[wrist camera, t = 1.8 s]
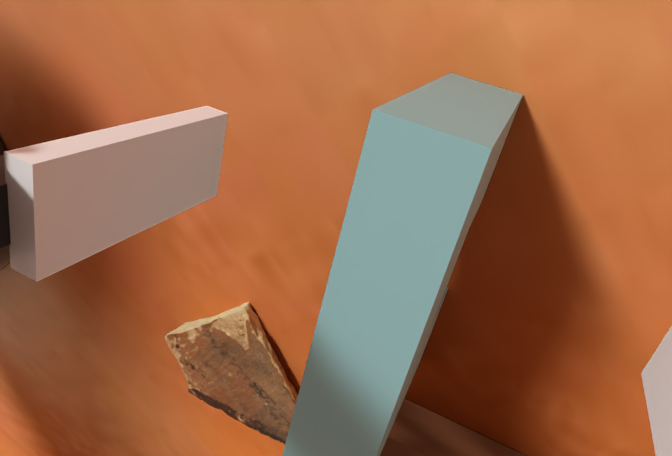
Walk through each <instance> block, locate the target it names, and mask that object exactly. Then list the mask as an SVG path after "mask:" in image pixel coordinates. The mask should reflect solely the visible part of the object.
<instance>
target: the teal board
mask: <svg viewBox="0 0 672 456" xmlns="http://www.w3.org/2000/svg"><path fill="white" fill-rule="evenodd" d="M522 97H523V94H520V93H516V92H513V91H510V90H506V89H503V88H499V87H496V86H493V85H489V84H486V83H483V82H479V81H476V80H473V79H469V78H466V77H463V76H459V75H456V74H452V73H449V74H447V75H445V76H443V77H441V78H439V79H437V80H434V81H432V82H430V83H428V84H426V85H424V86H422V87H419V88H417V89H415V90H413V91H411V92H409V93H407V94H404V95H402V96H400V97H398V98H396V99H394V100H392V101H389V102H387V103H385V104H383V105H381V106H379V107H377V108H375V109H373V110H372V114H371V118H370V122H369V125H368V129H367V133H366V137H365V141H364V145H363V148H362V152H361V156H360V160H359V164H358V168H357V171H356V175H355V179H354V183H353V187H352V191H351V194H350V198H349V202H348V206H347V210H346V214H345V217H344V221H343V225H342V229H341V233H340V237H339V240H338V244H337V248H336V252H335V256H334V260H333V263H332V267H331V271H330V275H329V279H328V282H327V286H326V290H325V294H324V298H323V302H322V305H321V309H320V313H319V317H318V321H317V325H316V328H315V332H314V336H313V340H312V344H311V348H310V351H309V355H308V359H307V363H306V367H305V371H304V374H303V378H302V382H301V386H300V390H299V394H298V397H297V401H296V405H295V409H294V413H293V417H292V420H291V424H290V428H289V432H288V436H287V440H286V443H285V447H284V451H283V455H282V456H380V454H381V452H382V449H383V447H384V445H385V442H386V440H387V438H388V435H389V433H390V431H391V428H392V426H393V424H394V421H395V419H396V417H397V414H398V412H399V410H400V407H401V405H402V403H403V400H404V398H405V396H406V393H407V391H408V389H409V386H410V384H411V382H412V379H413V377H414V375H415V372H416V370H417V368H418V365H419V363H420V361H421V358H422V355H423V353H424V350H425V348H426V345H427V342H428V340H429V337H430V335H431V332H432V329H433V327H434V324H435V322H436V319H437V317H438V314H439V311H440V309H441V306H442V304H443V301H444V298H445V296H446V293H447V291H448V288H447V285H448V282H449V280H450V277H451V275H452V272H453V269H454V267H455V264H456V262H457V259H458V256H459V254H460V251H461V249H462V246H463V243H464V241H465V238H466V236H467V233H468V230H469V228H470V226H471V224H472V222H473V220H474V217H475V215H476V213H477V211H478V209H479V207H480V205H481V202H482V200H483V197H484V195H485V192H486V190H487V187H488V185H489V182H490V179H491V177H492V174H493V172H494V169H495V166H496V164H497V161H498V159H499V156H500V153H501V151H502V148H503V146H504V143H505V141H506V138H507V135H508V133H509V130H510V128H511V125H512V122H513V120H514V117H515V115H516V112H517V109H518V107H519V104H520V102H521V99H522Z"/></svg>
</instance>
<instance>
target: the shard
mask: <svg viewBox="0 0 672 456" xmlns="http://www.w3.org/2000/svg"><path fill="white" fill-rule="evenodd" d="M165 340H166V342H167V344H168V346H169V348H170V350H171V351H172V353H173V354H174V356H175V358H176V360H177V361H178V363H179V364H180V367H181V369H182V371H183V374H184V376H185V378H186V380H187V383H188V384H189V393H191V394H193V395H195V396H196V397H197V398H199V399H200V400H203V401H204V402H206V403H207V404H209V405H210V406H212V407H214V408H217V409H221V410H223V411H224V412H225V413H226V414H227V415H229V416H230V417H232V418H234V419H235V420H238V421H240V422H242V423H243V424H245V425H246V426H248V427H250V428H252V429H254V430H256V431H258V432H260V433H261V434H264V435H266V436H268V437H270V438H272V439H274V440H276V441H278V442H281V443H283V444H285V443H286V440H287V436H288V432H289V428H290V424H291V420H292V417H293V413H294V409H295V405H296V401H297V397H298V393H297V392H296V390H295V387H294V386H293V385H292V383H291V382H290V381H289V380H288V378H287V376H286V374H285V371H284V369H283V368H282V365H281V363H280V362H279V360H278V357H277V355H276V354H275V352H274V350H273V349H272V347H271V344H270V342H269V341H268V339H267V336H266V334H265V332H264V330H263V328H262V325H261V323H260V321H259V318H258V316H257V315H256V314H255V313H254V312H253V310H252V308H251V305H250V302H246V303H244V304H242V305H240V306H238V307H235V308H232V309H230V310H228V311H225V312H223V313H220V314H219V315H216V316H213V317H209V318H203V319H198V320H196V321H193V322H186V323H185V324H183V325H181V326H179V327H178V328H177V329H175V330H173V331H171V332H169V333H168V334H167V335H166V336H165Z"/></svg>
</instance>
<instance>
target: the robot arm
mask: <svg viewBox="0 0 672 456" xmlns="http://www.w3.org/2000/svg"><path fill="white" fill-rule="evenodd" d="M227 118H228V113H226V112H223V111H220V110H218V109H215V108H212V107H209V106H203V107H199V108H194V109H190V110H185V111H181V112H177V113H172V114H168V115H163V116H159V117H154V118H150V119H146V120H141V121H137V122H132V123H128V124H124V125H119V126H115V127H110V128H106V129H101V130H97V131H93V132H88V133H84V134H79V135H75V136H71V137H66V138H62V139H57V140H53V141H48V142H44V143H40V144H35V145H31V146H26V147H22V148H17V149H13V150H9V151H5V149H4V146H3V145H2V143H1V141H0V270H1V269H3V268H4V267H5V266H6V265H7V264H8V263H9V262H10V264H11V269H13V270H15V271H16V272H18V273H20V274H22V275H24V276H26V277H28V278H30V279H32V280H33V281H35V282H38V281H40V280H42V279H44V278H46V277H48V276H50V275H52V274H54V273H57V272H59V271H61V270H63V269H65V268H67V267H69V266H71V265H73V264H75V263H77V262H79V261H82V260H84V259H86V258H88V257H90V256H92V255H94V254H96V253H98V252H100V251H102V250H104V249H107V248H109V247H111V246H113V245H115V244H117V243H119V242H121V241H123V240H125V239H127V238H129V237H131V236H134V235H136V234H138V233H140V232H142V231H144V230H146V229H148V228H150V227H152V226H154V225H156V224H159V223H161V222H163V221H165V220H167V219H169V218H171V217H173V216H175V215H177V214H179V213H181V212H184V211H186V210H188V209H190V208H192V207H194V206H196V205H198V204H200V203H202V202H204V201H206V200H209V199H211V198H213V197H215V196H217V191H218V183H219V176H220V169H221V161H222V154H223V147H224V140H225V132H226V125H227ZM641 375H642V380H643V386H644V392H645V397H646V403H647V409H648V414H649V420H650V426H651V431H652V437H653V443H654V449H655V454H656V456H672V326H671V327H670V329H669V331H668V332H667V334H666V335H665V337H664V338H663V340H662V342H661V343H660V345H659V346H658V348H657V349H656V351H655V352H654V354H653V356H652V357H651V359H650V360H649V362H648V363H647V365H646V367H645V368H644V370H643V371H642V373H641Z"/></svg>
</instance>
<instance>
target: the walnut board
mask: <svg viewBox="0 0 672 456" xmlns="http://www.w3.org/2000/svg"><path fill="white" fill-rule="evenodd" d="M380 456H525V455H523V454H521V453H519V452H517V451H515V450H513V449H510V448H508V447H506V446H504V445H502V444H500V443H498V442H496V441H494V440H491V439H489V438H487V437H485V436H483V435H481V434H479V433H477V432H474V431H472V430H470V429H468V428H466V427H464V426H462V425H460V424H457V423H455V422H453V421H451V420H449V419H447V418H445V417H443V416H441V415H438V414H436V413H434V412H432V411H430V410H428V409H426V408H424V407H421V406H419V405H417V404H415V403H413V402H411V401H409V400H407V399H404V400H403V403H402V405H401V407H400V410H399V412H398V414H397V417H396V419H395V421H394V424H393V426H392V428H391V431H390V433H389V435H388V438H387V440H386V442H385V445H384V447H383V449H382V452H381V454H380Z"/></svg>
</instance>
